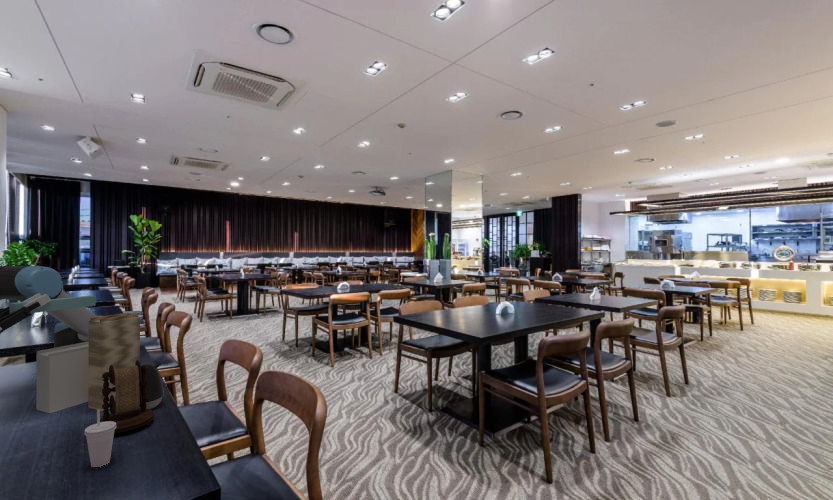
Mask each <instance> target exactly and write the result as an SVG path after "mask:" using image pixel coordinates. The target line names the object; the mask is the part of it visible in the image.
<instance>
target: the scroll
mask: <svg viewBox="0 0 833 500" xmlns="http://www.w3.org/2000/svg"><path fill="white" fill-rule="evenodd" d="M146 370H147V366H146V365H144V364H141V360H140V361H139V360H137V361H136V363H135V366H131V367H126V368H121V369H115V370H114V367H113V365H110V367H109V372H105V373H103V374H102V378H104V379H103V381H104V384H103V387H104V388H103V389H102V394H103V396H104V399H103V403H104V404H103V405H102V409H104V410H103V411H102V412H103V414H102V418H101V417H100V422H106V421H113V422H116V429H115V430H114V434H117V433H123V432H128V431H132V430H135V429H138V428H141V427H143V426H146V427H149V426H150V423H151V422H152V421H153V420H154V419H155V412H154V411H153V410H152V409H150V410H149V409H146V407H147V405H146V403H145V402H146V400H145V399H146V398H147V394H145V393H146V388H145V387H146V385H147V384H148V381H147V380H146V377H147V376H146V372H147V371H146ZM141 371H142V372H141ZM141 373H142V375H141ZM140 376H141V379H142V380H141V381H140V382H139V378H140ZM108 380H110V383H111V384H113V385H114V386H115V387H113V388H109V382H108ZM139 386H141V388H142V389H141V391H140V390H139ZM111 391H112V392H115V391H116V401H115V400H114V396H113V395H111V396H110V399H109V397H108V395H109V393H111ZM141 394H142V395H141ZM108 402H109V403H108ZM109 407H110V409H108V408H109ZM139 407H140V408H139ZM109 411H110V413H109ZM96 423H97V421H96V422H95V423H94V424H96Z"/></svg>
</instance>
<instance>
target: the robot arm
mask: <svg viewBox="0 0 833 500" xmlns="http://www.w3.org/2000/svg"><path fill="white" fill-rule="evenodd" d="M62 279H63V278H62V276H61V274H60V273H59V272H58V271H57V270H56V269H53V268H51V267H50V266H49V267H48V266H40V265H30V266H29V265H0V301H2V300H11V301H12V300H13V301H14V300H16V301H19V302H28V301H31V302H30V303H28V304H26V305H24V307H22V308H21V309H19V310H17V311H15V312H12V313H10V305H9V306H6V307H5V308H3V309H0V335H1V334H2V333H4V332H5V331H7V329H10V328H11V327H13V326H15V325H17V324H19V323H20V322H22V321H23V320H25V319H27V318H28V317H31V316H33V313H30V312H32V311H34V310H36V309H38V308H39V307H41V306H43V305H45V304H47V303H48V302H50V301H52V300H51V299H59V298H70V297H72V296H71V295H69V294H68V293H67V292H65V291H64V284H63V283H64V281H63V280H62ZM45 313H47V314H49V315H50V316H51V317H54V319H56V320H58V321H59V323H56V324H55V326H54V333H53V345H54V347H53V348H57V347H62V346H67V345H73V344H78V343H83V342H89V321H90V318H95V317H102V316H103V315H96V313H94V312H92V311H91V310H90V309H89V308H88V307H80V308H71V309H63V310H54V311H46V312H45Z"/></svg>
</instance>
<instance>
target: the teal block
mask: <svg viewBox="0 0 833 500" xmlns="http://www.w3.org/2000/svg"><path fill="white" fill-rule="evenodd" d="M51 300H52V301H50V302H48V303H47V304H45V305H43V306H41V307H39V308H38V309H36V310H34V311H32V312H30V313H31V314H36V313H47V312H46V311H54V310H63V309H71V308H80V307H86V308H88V307H93V306H94V307H95V306H96V295H83V296H82V295H81V296H71V297H70V298H59V299H51ZM30 302H31V301H28V302H21V301H19V302H10V303H9V306H10V313H12V312H15V311H17V310H19V309H21V308H22V307H24V305H26V304H28V303H30Z"/></svg>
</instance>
